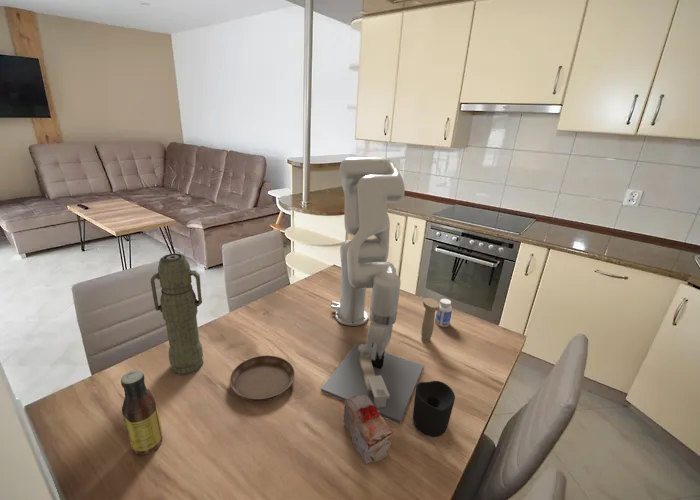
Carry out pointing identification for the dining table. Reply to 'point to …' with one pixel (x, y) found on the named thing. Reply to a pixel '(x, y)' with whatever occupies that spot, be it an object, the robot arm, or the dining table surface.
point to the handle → (429, 318)
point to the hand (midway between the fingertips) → (377, 365)
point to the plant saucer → (262, 378)
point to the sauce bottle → (140, 414)
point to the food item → (367, 428)
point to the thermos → (179, 312)
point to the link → (367, 370)
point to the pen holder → (432, 407)
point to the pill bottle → (444, 313)
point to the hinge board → (390, 374)
